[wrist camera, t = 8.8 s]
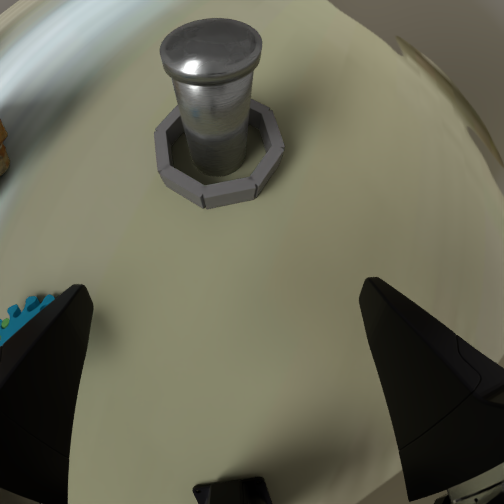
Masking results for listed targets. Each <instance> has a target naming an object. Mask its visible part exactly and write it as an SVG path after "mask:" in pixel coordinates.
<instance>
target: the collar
mask: <svg viewBox="0 0 504 504" xmlns="http://www.w3.org/2000/svg"><path fill="white" fill-rule="evenodd" d="M248 124H249V125H251V126H253V127H255V128H257V129H259V131H260V134H261V137H262V141H263V144H264V147H265V150H266V154H265V156H264V157H263V159H262V160H261V161H260V163H259V164H258V165H257V167H256V168H255V170H254V171H253V172H252V174H251V175H250V177H245V178H240V179H235V180H230V181H225V182H220V183H215V184H210V185H203V184H201V183H200V182H198V181H196V180H195V179H193V178H191V177H189V176H188V175H186V174H184V173H182V172H181V171H179V170H177V169H175V168H174V166H173V158H172V151H171V146H172V144H173V143H174V142H175V141H176V140H177V139H178V137H179V136H180V135H181V134H182V133H183V132H184V127H183V123H182V119H181V115H180V111H179V107H178V105H177V106H176V107H175V108H174V109H173V110H172V111H171V112H170V113H169V114H168V115H167V117H166V118H165V119H164V120H163V121H162V122H161V123H160V124H159V125H158V126H157V128H156V129H155V130H156V132H154V139H155V150H156V159H157V169H158V172H159V174H160V176H161V178H162V180H163V182H164V184H165V185H166V186H167V187H168V188H170V189H172V190H173V191H175V192H176V193H178V194H180V195H181V196H183V197H185V198H186V199H188V200H190V201H191V202H193V203H195V204H196V205H198V206H199V207H201V208H204V207H205V206H206V208H207V209H211V208H216V207H220V206H225V205H230V204H235V203H240V202H245V201H250V200H253V199H254V197H256V198H257V196H258V195H259V193H260V192H261V190H262V189H263V187H264V186H265V184H266V183H267V181H268V180H269V179H270V177H271V176H272V174H273V173H274V171H275V170H276V168H277V167H278V165H279V164H280V161H281V158H282V155H283V152H284V148H285V146H284V143H283V140H282V137H281V134H280V131H279V128H278V125H277V122H276V119H275V117H274V114H273V111H272V110H270V108H269V107H267V106H265V105H263V104H261V103H259V102H257V101H255V100H253V99H251V101H250V111H249V122H248Z"/></svg>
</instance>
